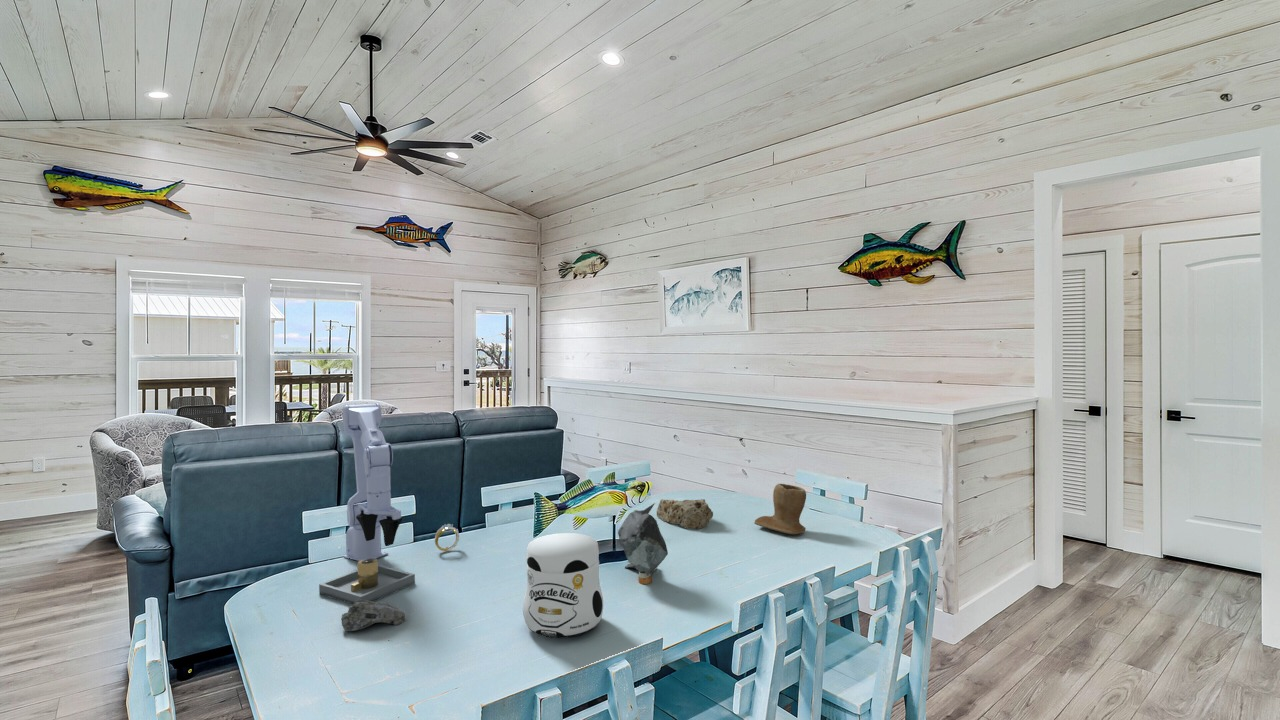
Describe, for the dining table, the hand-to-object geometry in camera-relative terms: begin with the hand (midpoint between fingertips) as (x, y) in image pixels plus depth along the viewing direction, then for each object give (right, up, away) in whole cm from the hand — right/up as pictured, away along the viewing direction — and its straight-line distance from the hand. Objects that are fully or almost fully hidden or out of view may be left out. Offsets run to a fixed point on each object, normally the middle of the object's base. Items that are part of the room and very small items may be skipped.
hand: (379, 542), depth 159 cm
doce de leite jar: (+52, -10, -27) cm, 59 cm away
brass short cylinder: (0, -9, -7) cm, 11 cm away
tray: (0, -10, -7) cm, 12 cm away
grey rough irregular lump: (+10, -11, -26) cm, 30 cm away
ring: (+12, -9, +20) cm, 24 cm away
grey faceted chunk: (+69, -9, -1) cm, 70 cm away
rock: (+84, -8, +49) cm, 98 cm away
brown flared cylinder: (+115, -8, +38) cm, 122 cm away
